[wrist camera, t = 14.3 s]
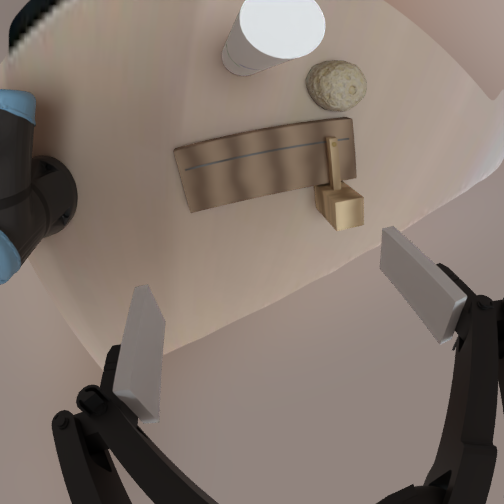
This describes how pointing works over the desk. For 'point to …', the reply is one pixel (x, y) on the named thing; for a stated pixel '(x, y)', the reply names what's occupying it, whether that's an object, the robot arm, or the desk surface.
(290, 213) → the desk surface
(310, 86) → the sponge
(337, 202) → the wooden lever on block
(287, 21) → the cylindrical container
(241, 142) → the board
